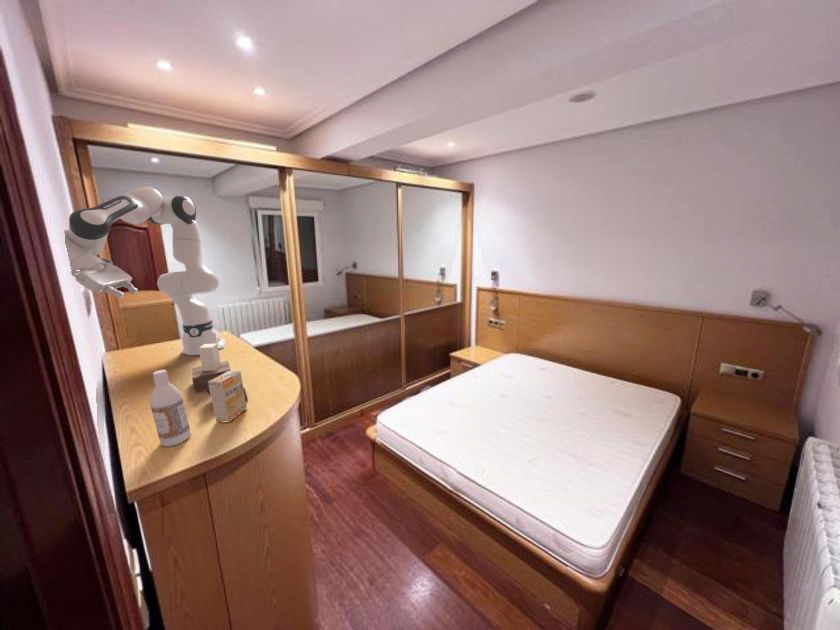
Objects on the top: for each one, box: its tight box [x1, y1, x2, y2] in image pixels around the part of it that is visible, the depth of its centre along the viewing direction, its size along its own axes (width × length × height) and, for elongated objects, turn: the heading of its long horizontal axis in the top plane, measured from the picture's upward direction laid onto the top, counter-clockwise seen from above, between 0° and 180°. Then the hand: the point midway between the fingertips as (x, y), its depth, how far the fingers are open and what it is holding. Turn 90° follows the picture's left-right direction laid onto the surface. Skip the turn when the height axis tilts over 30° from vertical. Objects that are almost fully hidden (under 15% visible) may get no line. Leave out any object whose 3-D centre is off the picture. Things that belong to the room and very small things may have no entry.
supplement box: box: [208, 370, 248, 422], centre depth 105 cm, size 8×5×13 cm, turn 168°
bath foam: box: [149, 369, 192, 447], centre depth 92 cm, size 7×7×20 cm
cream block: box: [199, 343, 221, 371], centre depth 129 cm, size 4×4×9 cm
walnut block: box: [191, 360, 232, 394], centre depth 130 cm, size 12×12×6 cm
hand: (129, 294), depth 123 cm, fingers open, 8 cm apart
